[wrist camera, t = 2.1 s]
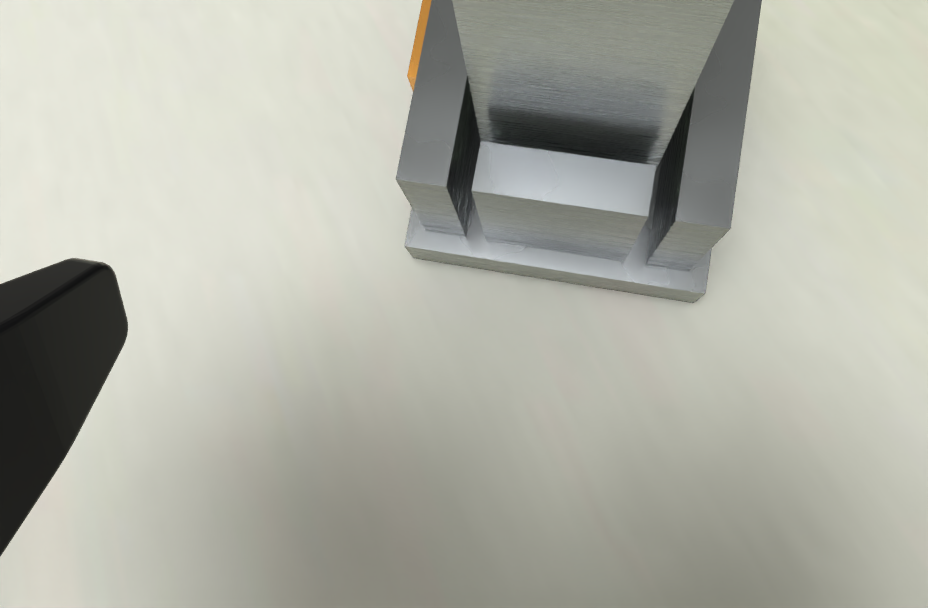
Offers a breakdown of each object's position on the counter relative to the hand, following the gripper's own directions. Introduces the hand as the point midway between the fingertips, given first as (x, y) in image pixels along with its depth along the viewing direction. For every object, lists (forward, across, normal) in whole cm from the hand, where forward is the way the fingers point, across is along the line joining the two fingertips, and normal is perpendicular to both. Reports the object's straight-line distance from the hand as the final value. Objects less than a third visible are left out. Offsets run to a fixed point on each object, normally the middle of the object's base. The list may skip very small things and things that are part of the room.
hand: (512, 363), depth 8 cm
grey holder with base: (+15, 0, +4) cm, 16 cm away
